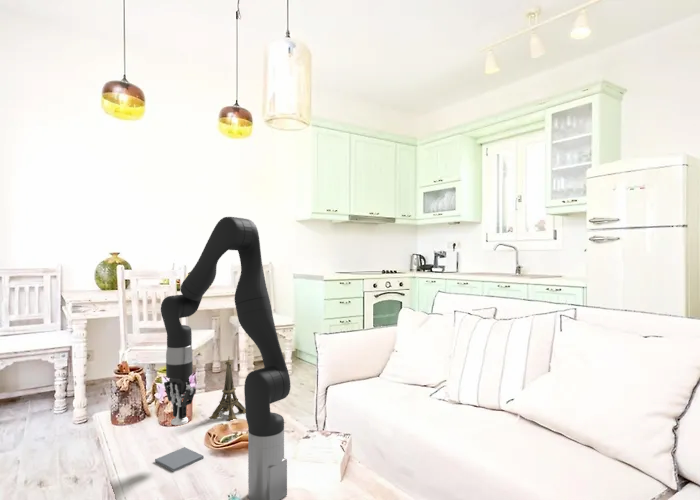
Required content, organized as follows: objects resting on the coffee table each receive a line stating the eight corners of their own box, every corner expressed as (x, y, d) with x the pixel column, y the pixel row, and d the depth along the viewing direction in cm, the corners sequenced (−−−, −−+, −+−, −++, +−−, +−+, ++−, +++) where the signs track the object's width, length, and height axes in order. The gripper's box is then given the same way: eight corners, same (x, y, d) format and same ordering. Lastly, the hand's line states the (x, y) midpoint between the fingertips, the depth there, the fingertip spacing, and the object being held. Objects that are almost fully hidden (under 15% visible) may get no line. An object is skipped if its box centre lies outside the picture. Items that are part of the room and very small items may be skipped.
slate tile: (203, 458, 135) (203, 455, 135) (173, 471, 127) (173, 469, 127) (184, 449, 141) (184, 447, 141) (155, 461, 132) (155, 459, 132)
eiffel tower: (233, 421, 164) (233, 354, 163) (209, 418, 167) (208, 352, 167) (248, 411, 174) (248, 348, 173) (225, 408, 177) (224, 346, 177)
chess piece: (182, 425, 131) (182, 392, 131) (167, 424, 132) (167, 391, 132) (191, 419, 135) (191, 387, 135) (177, 418, 136) (177, 386, 136)
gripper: (203, 361, 132) (204, 418, 132) (177, 354, 141) (177, 408, 141) (181, 366, 126) (181, 426, 126) (155, 359, 134) (155, 415, 135)
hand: (179, 416), depth 133 cm, fingers closed on chess piece, 2 cm apart
